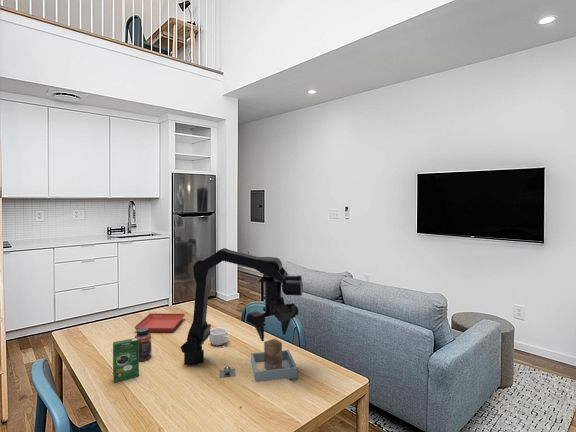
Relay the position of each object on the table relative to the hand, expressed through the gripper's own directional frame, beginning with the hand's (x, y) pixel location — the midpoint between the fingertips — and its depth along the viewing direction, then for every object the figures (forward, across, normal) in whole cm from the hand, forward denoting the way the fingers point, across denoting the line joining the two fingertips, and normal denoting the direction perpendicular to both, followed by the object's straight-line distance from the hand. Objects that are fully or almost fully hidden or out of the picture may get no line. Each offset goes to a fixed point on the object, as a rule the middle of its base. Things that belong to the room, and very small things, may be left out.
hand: (273, 337), depth 127 cm
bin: (+12, 0, 0) cm, 12 cm away
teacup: (+12, -5, +32) cm, 35 cm away
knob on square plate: (+12, -15, +7) cm, 20 cm away
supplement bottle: (+12, -34, +38) cm, 53 cm away
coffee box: (+12, -43, +27) cm, 52 cm away
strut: (+12, 0, 0) cm, 12 cm away
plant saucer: (+13, -18, +67) cm, 71 cm away
